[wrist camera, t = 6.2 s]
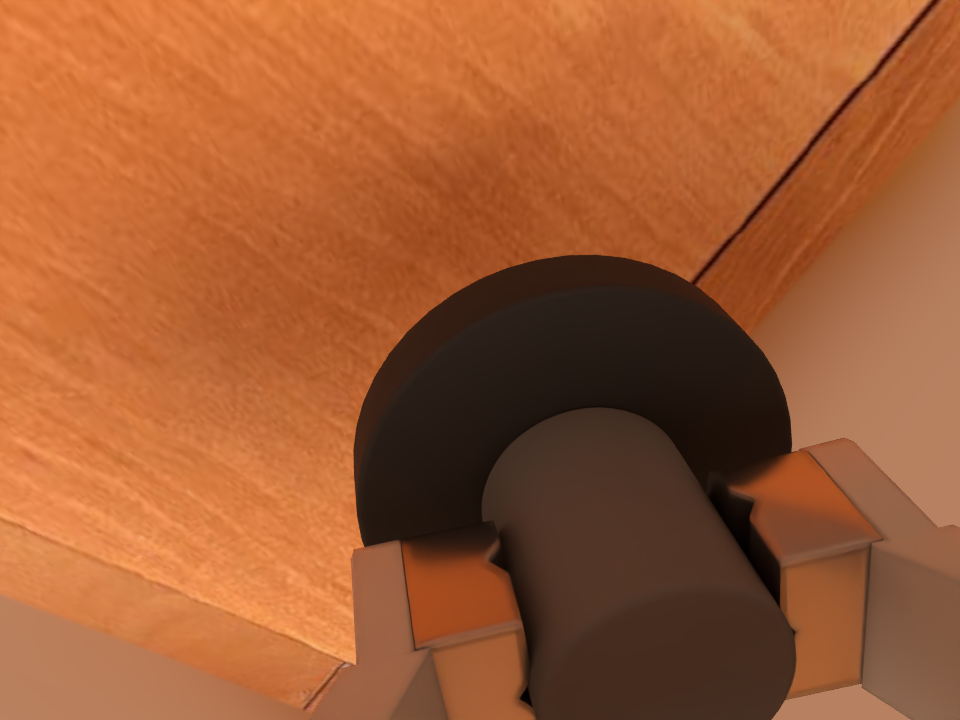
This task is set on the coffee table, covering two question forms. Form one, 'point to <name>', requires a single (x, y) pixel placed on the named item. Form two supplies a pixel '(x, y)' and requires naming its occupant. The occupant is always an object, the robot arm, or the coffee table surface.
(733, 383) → the stopper
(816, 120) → the coffee table surface
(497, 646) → the robot arm
